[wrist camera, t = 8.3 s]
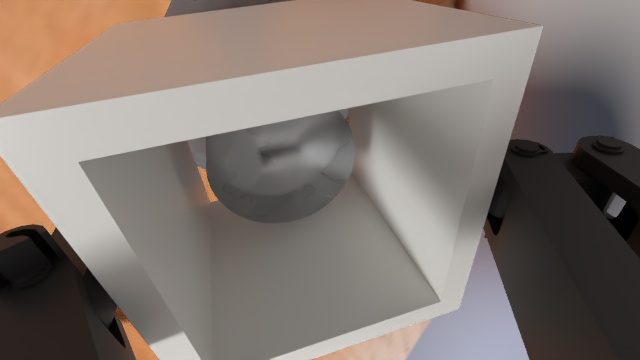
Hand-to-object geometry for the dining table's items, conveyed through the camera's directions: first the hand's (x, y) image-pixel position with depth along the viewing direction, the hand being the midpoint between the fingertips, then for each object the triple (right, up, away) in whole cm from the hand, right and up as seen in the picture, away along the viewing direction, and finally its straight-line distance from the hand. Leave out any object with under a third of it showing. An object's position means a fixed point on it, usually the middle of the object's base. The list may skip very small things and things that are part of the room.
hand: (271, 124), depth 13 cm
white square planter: (0, 0, 0) cm, 0 cm away
